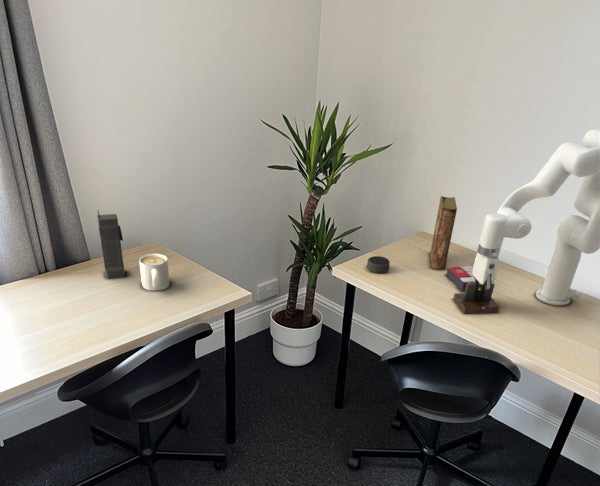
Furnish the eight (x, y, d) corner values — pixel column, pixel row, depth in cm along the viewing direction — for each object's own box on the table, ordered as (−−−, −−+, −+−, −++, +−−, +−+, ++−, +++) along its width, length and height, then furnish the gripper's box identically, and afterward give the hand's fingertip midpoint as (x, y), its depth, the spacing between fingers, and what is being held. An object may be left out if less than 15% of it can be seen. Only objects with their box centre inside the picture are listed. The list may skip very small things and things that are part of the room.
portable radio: (126, 270, 234) (118, 205, 218) (128, 276, 229) (119, 211, 214) (105, 271, 231) (95, 207, 216) (106, 278, 227) (96, 213, 212)
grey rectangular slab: (488, 298, 224) (492, 281, 220) (490, 300, 222) (494, 283, 218) (462, 298, 222) (466, 282, 218) (464, 301, 221) (468, 284, 217)
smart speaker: (362, 269, 245) (363, 259, 243) (375, 262, 251) (376, 253, 248) (380, 276, 241) (381, 266, 238) (392, 269, 246) (394, 260, 244)
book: (444, 270, 248) (457, 210, 233) (431, 269, 248) (442, 208, 233) (443, 254, 261) (454, 196, 246) (430, 253, 261) (441, 195, 246)
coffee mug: (144, 278, 229) (141, 253, 223) (171, 279, 229) (168, 254, 223) (138, 294, 218) (135, 268, 212) (166, 295, 219) (163, 269, 213)
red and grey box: (472, 265, 244) (490, 279, 232) (470, 275, 247) (487, 290, 235) (447, 266, 242) (463, 281, 230) (445, 276, 245) (461, 291, 233)
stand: (485, 296, 231) (487, 290, 229) (501, 314, 220) (502, 308, 218) (450, 297, 228) (451, 291, 227) (463, 315, 217) (465, 309, 216)
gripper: (508, 259, 205) (495, 308, 216) (489, 241, 218) (478, 287, 229) (487, 260, 204) (475, 308, 215) (470, 241, 217) (459, 288, 228)
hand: (477, 297), depth 222 cm, fingers closed on grey rectangular slab, 2 cm apart
